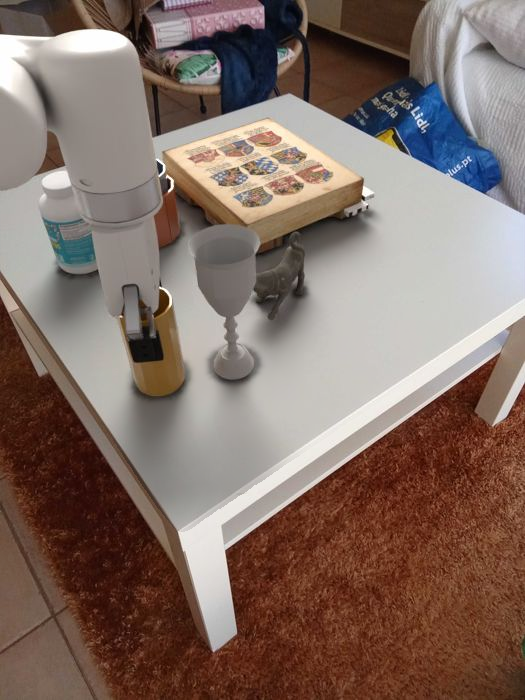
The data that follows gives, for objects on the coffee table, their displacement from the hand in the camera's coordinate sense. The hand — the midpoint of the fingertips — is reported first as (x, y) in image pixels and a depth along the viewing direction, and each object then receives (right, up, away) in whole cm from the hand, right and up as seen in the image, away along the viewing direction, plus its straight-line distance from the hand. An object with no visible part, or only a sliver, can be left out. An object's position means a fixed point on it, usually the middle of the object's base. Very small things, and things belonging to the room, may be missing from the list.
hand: (150, 330), depth 63 cm
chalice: (+9, -4, +7) cm, 12 cm away
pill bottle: (-14, +11, +22) cm, 28 cm away
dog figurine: (+15, +5, +16) cm, 22 cm away
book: (+14, +23, +33) cm, 43 cm away
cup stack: (-5, +17, +27) cm, 32 cm away
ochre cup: (0, -5, +6) cm, 8 cm away
